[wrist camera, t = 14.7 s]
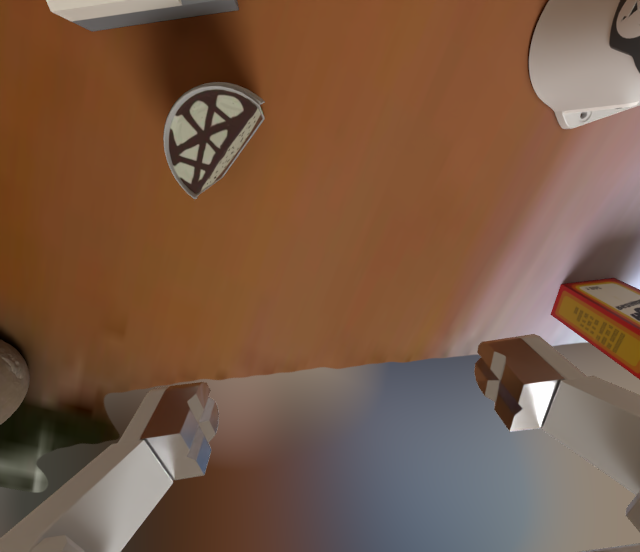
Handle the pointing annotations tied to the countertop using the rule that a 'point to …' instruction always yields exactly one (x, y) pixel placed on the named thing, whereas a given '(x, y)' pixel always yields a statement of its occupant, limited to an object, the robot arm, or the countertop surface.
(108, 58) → the countertop surface
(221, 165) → the food container
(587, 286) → the baking soda box
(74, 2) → the dock
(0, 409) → the bowl
